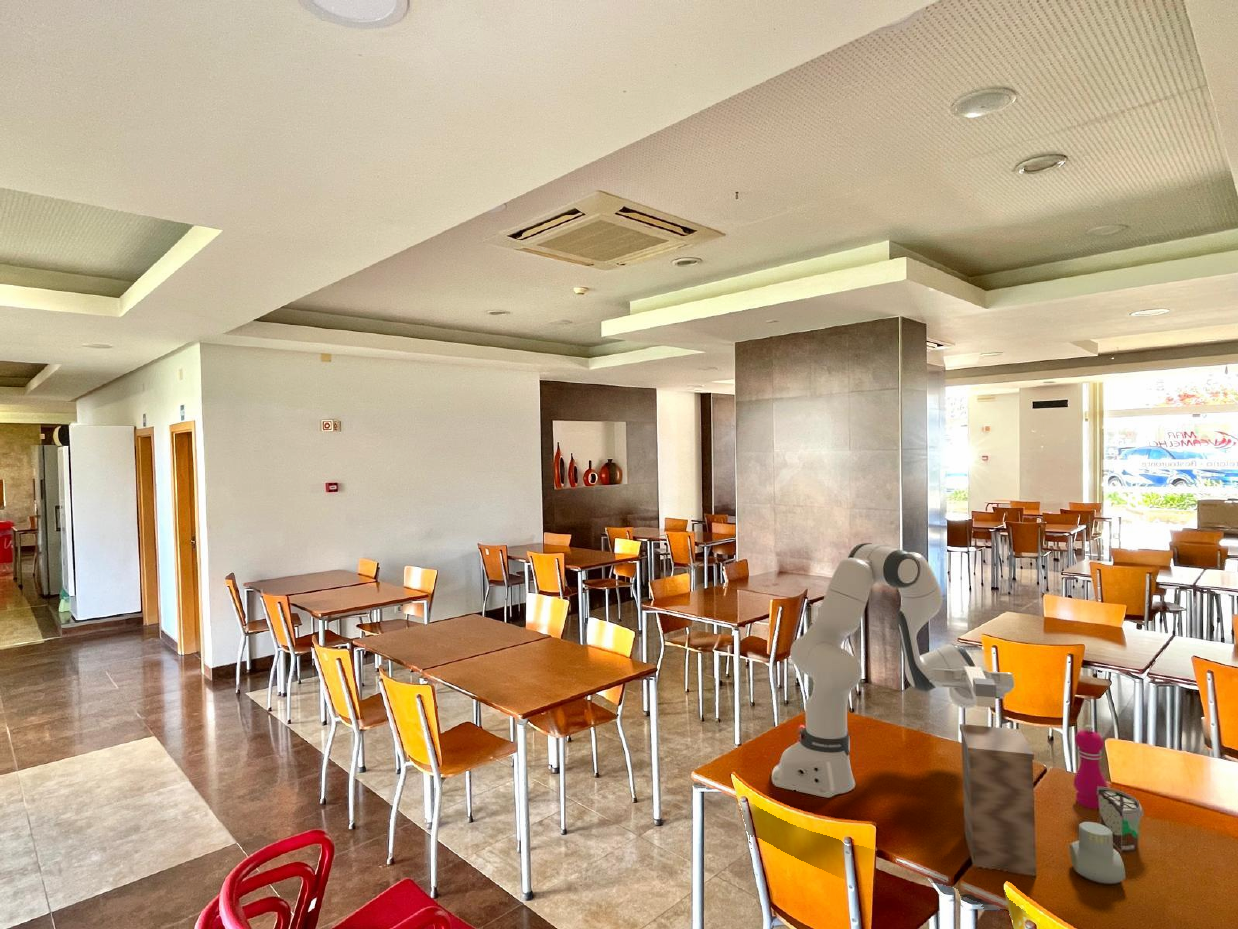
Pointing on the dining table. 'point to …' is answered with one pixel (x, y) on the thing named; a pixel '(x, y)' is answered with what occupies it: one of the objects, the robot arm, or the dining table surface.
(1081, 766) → the pepper mill
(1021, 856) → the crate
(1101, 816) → the food container
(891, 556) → the robot arm
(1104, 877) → the air freshener
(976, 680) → the cream rectangular block
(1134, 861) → the dining table surface
